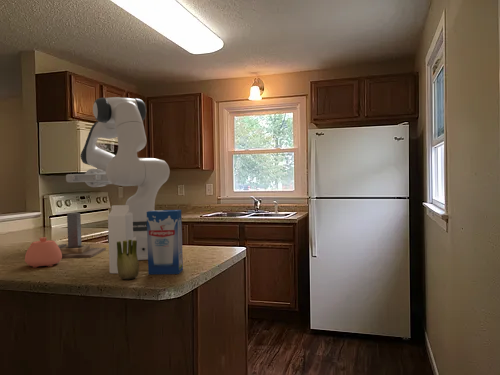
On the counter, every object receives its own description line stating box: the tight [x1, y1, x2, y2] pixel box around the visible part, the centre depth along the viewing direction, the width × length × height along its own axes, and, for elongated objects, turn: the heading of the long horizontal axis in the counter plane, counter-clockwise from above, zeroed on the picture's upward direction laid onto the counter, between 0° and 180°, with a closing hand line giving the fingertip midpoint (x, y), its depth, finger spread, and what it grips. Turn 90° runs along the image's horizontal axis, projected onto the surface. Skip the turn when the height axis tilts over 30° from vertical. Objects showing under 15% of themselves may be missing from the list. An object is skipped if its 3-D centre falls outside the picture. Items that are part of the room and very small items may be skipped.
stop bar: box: [66, 212, 82, 248], centre depth 178 cm, size 4×4×16 cm
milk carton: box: [147, 209, 184, 275], centre depth 138 cm, size 10×6×20 cm, turn 87°
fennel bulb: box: [117, 239, 140, 280], centre depth 130 cm, size 6×5×12 cm
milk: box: [107, 204, 133, 274], centre depth 141 cm, size 6×6×22 cm
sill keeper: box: [57, 243, 107, 259], centre depth 178 cm, size 22×18×3 cm
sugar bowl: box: [24, 236, 63, 269], centre depth 156 cm, size 12×14×10 cm
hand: (83, 177), depth 191 cm, fingers open, 8 cm apart
